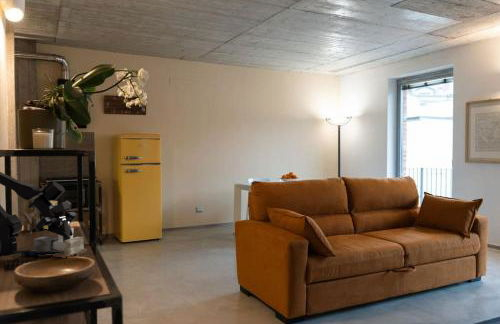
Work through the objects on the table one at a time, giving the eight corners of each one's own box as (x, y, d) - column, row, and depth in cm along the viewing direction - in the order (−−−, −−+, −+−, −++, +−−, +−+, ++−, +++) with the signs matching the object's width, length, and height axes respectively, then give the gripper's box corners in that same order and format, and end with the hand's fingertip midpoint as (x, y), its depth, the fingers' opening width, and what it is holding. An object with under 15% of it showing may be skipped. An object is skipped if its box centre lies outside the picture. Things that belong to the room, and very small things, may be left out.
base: (23, 255, 167) (23, 239, 167) (45, 249, 179) (44, 234, 179) (67, 258, 162) (67, 242, 162) (86, 251, 174) (86, 236, 174)
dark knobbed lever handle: (42, 248, 170) (41, 221, 170) (47, 246, 173) (46, 220, 173) (73, 250, 167) (72, 222, 166) (78, 248, 169) (77, 221, 169)
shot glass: (56, 245, 186) (56, 230, 186) (59, 242, 193) (58, 227, 193) (72, 244, 188) (72, 229, 188) (74, 241, 195) (74, 226, 194)
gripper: (40, 197, 161) (65, 226, 158) (72, 193, 179) (95, 219, 176) (24, 217, 163) (48, 246, 160) (57, 210, 181) (79, 236, 178)
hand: (69, 236), depth 169 cm, fingers closed on dark knobbed lever handle, 3 cm apart
